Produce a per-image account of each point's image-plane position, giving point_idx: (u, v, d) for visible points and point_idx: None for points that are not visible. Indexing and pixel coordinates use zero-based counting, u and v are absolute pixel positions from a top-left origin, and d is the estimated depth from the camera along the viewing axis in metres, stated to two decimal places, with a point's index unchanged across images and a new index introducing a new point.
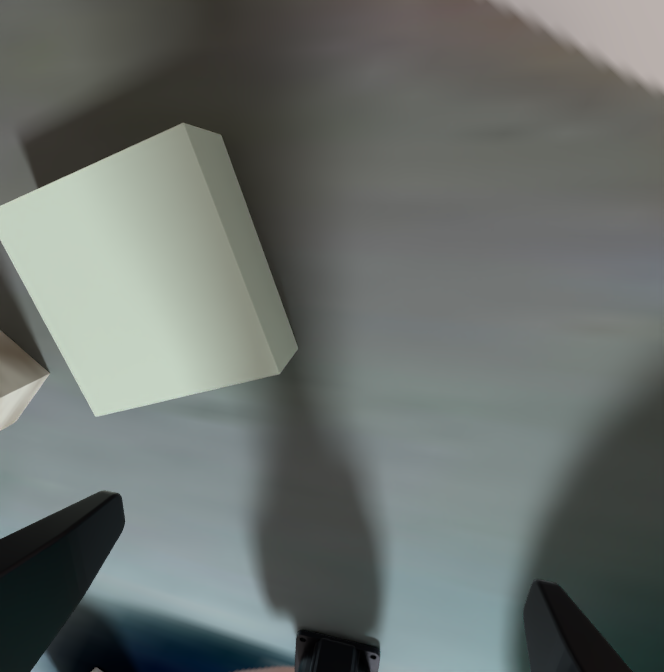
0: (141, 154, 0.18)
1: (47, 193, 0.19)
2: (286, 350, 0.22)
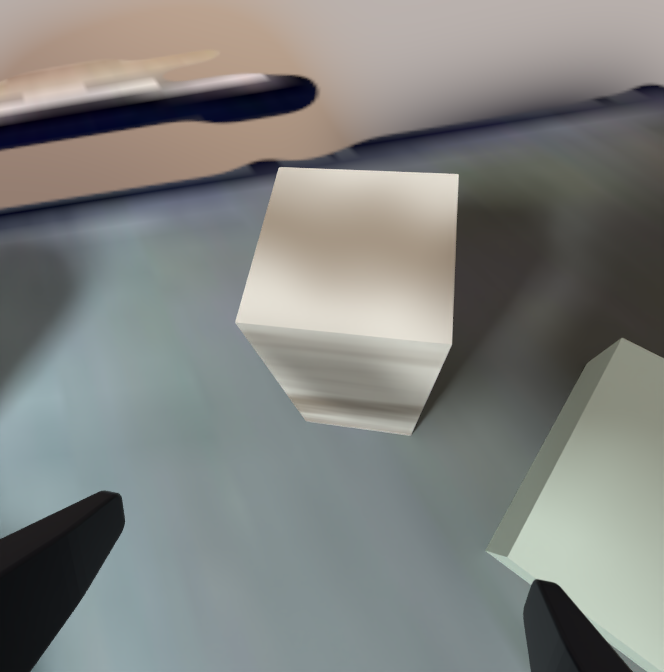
0: None
1: None
2: None
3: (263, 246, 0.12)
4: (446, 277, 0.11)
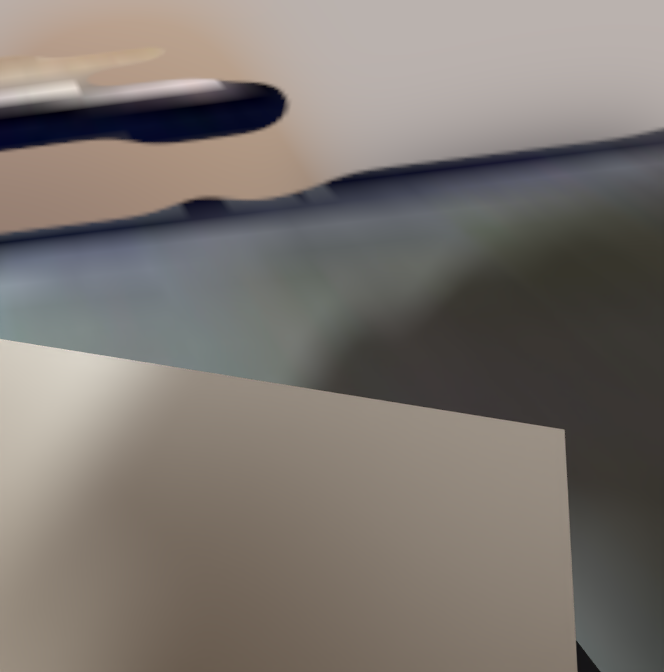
0: None
1: None
2: None
3: None
4: None
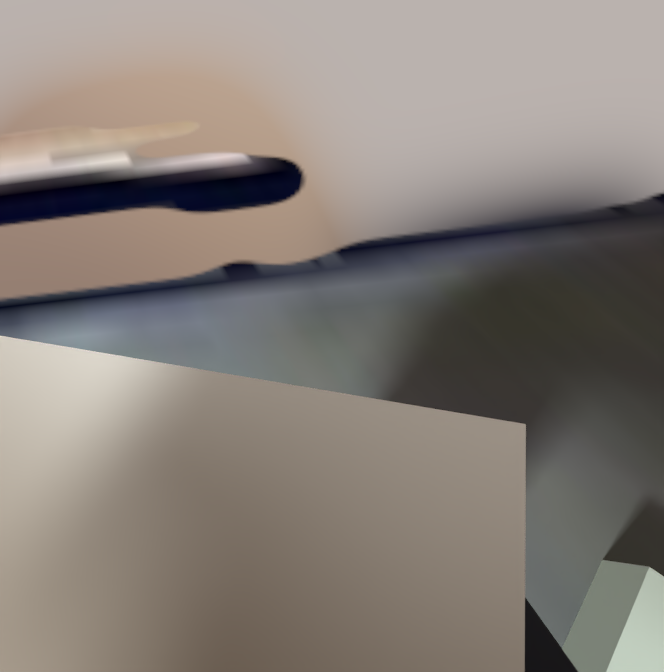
0: None
1: None
2: None
3: None
4: None
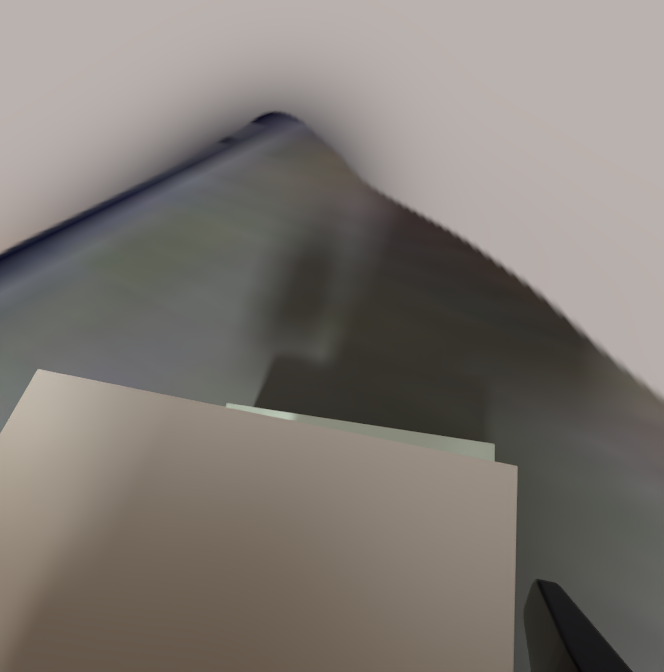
0: (434, 445, 0.17)
1: (308, 423, 0.18)
2: None
3: None
4: None
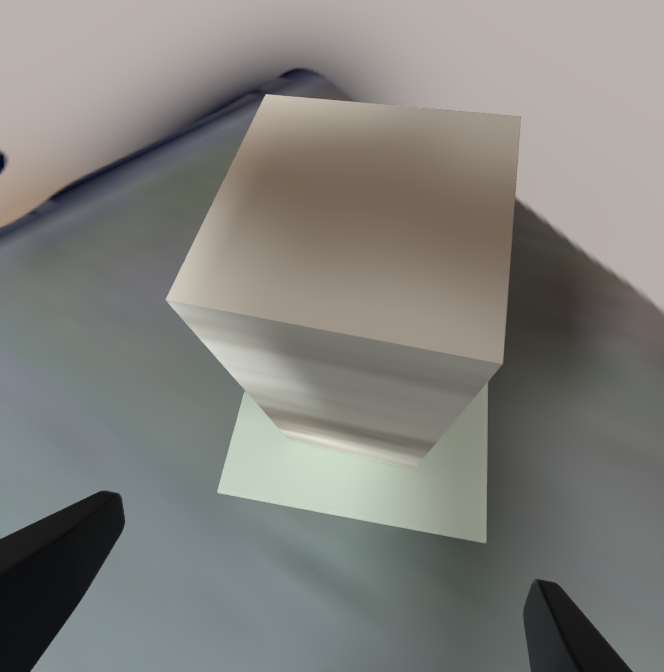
0: None
1: None
2: None
3: (226, 195, 0.08)
4: (497, 258, 0.07)
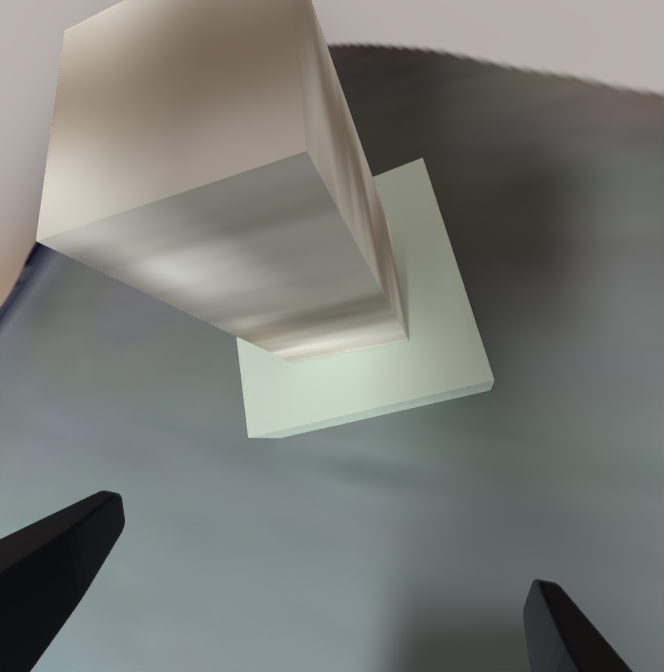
0: (379, 182, 0.21)
1: None
2: None
3: (57, 134, 0.09)
4: (286, 62, 0.07)
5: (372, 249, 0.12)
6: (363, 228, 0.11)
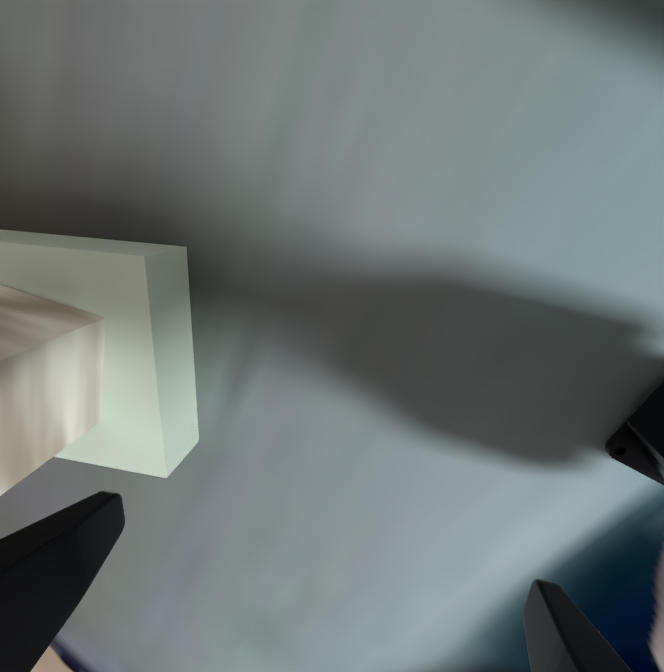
0: None
1: None
2: (157, 249, 0.19)
3: None
4: None
5: None
6: None
